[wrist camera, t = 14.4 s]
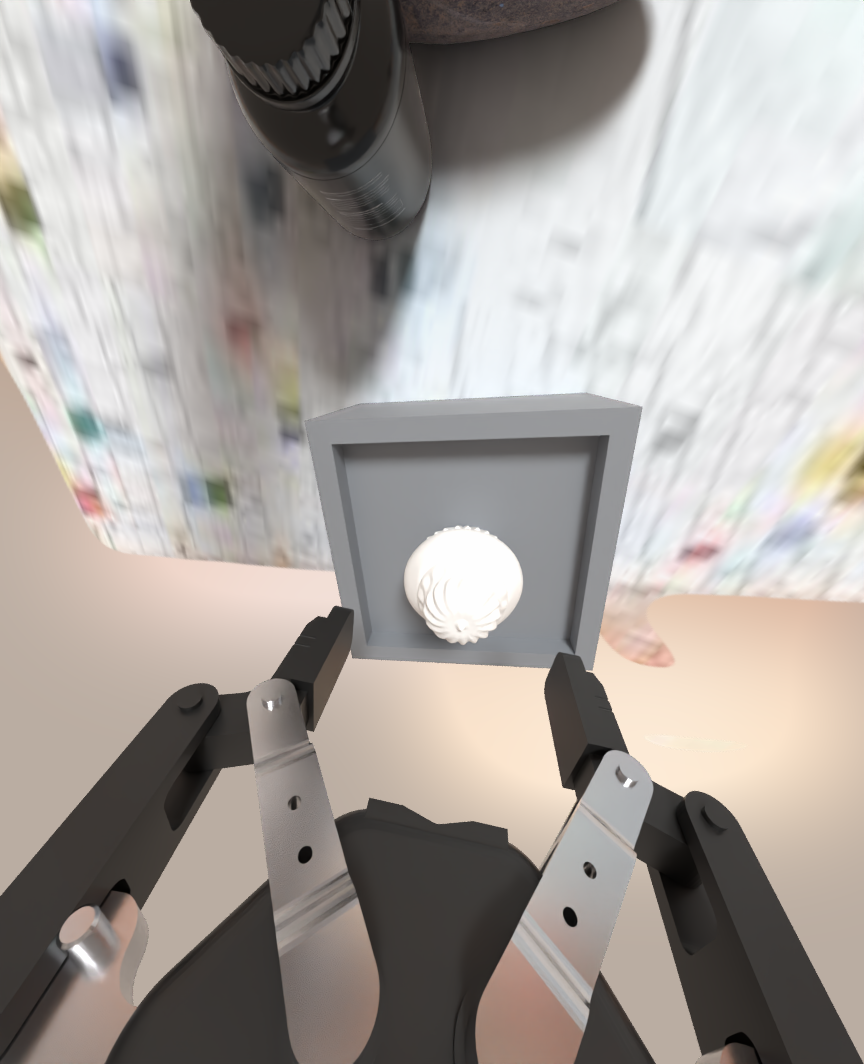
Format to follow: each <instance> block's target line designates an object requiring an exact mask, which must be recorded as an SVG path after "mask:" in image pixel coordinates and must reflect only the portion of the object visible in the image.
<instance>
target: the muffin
mask: <svg viewBox="0 0 864 1064" xmlns="http://www.w3.org/2000/svg"><path fill="white" fill-rule="evenodd" d="M404 587H405V592H406V596H407V598H408V600H409V602H410V604H411V606H412V607H413V608H414V610H415V611H416V612H417V613H418V614H419V615H420V616H421V617H423V618H424V619H425V620H426V624H427V625H428V627H429V628H430V629H431V630H433V631H434V633H435V634H436V635H437V636H438V637H439V638H441V639H446V640H447V641H448V642H450V643H455V642H459V643H460V644H462V645H465V644H466V643H467V642H468V641H470V642H472V643H476V642H477V641H478V639H479V638H487V637H488V631H492V630H494V629H496V627H497V625H498V624H500V623H501V622H502V621H504V620H505V619H506V618H507V617H508V616H509V615H510V613H511V612H512V611H513V610H514V608H515V607H516V605H517V603H518V601H519V599H520V596H521V593H522V589H523V575H522V570H521V567H520V564H519V562H518V560H517V558H516V556H515V555H514V553H513V552H512V551H511V549H510V548H509V547H508V546H507V545H505V544H504V543H503V542H502V541H500V540H499V539H497V536H494V535H491V534H489V532H488V531H485V530H480V529H479V528H478V527H469V526H465V527H462V526H456V527H451V528H444V529H443V530H442V531H437V532H435V534H434V535H433V536H430V537H427V540H425V541H424V542H423V543H422V544H420V545H419V546H418V548H417V549H416V550H415V551H414V552H413V554H412V555H411V557H410V558H409V560H408V562H407V565H406V568H405V572H404Z"/></svg>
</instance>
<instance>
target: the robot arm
mask: <svg viewBox="0 0 864 1064" xmlns="http://www.w3.org/2000/svg"><path fill="white" fill-rule="evenodd" d="M353 624H354V610H353V609H349V608H344V607H339V606H334V607H333V609H332V610H331V612H330V614H329V616H328V617H327V618H325V617H320V616H318V617H316V618H315V619H314V620H312V621H311V622H309V623H308V624H307V625H306V627H305V628H304V630H303V631H302V633H301V634H300V636H299V637H298V639H297V640H296V642H295V644H294V645H293V646H292V648H291V649H290V651H289V652H288V654H287V655H286V657H285V658H284V660H283V661H282V663H281V665H280V666H279V667H278V669H277V671H276V672H275V674H274V675H273V676H272V678H271V679H270V680H267V681H264V682H262V683H260V684H259V685H257V686H256V687H255V688H254V689H253V690H252V691H249V692H246V693H236V694H225V695H218V691H217V689H216V688H215V687H214V686H212V685H210V684H205V683H200V684H199V683H198V684H193V685H189V686H187V687H184V688H182V689H180V690H178V691H177V692H175V693H174V694H173V695H171V697H169V698H168V699H167V701H166V702H165V703H164V704H163V705H162V707H161V708H160V709H159V710H158V711H157V712H156V714H155V715H154V716H153V717H152V718H151V719H150V721H149V722H148V723H147V724H146V725H145V727H144V728H143V729H142V730H141V731H140V733H139V734H138V735H137V736H136V737H135V738H134V740H133V741H132V742H131V743H130V744H129V745H128V747H127V748H126V749H125V750H124V751H123V752H122V754H121V755H120V756H119V757H118V759H117V760H116V761H115V762H114V763H113V764H112V766H111V767H110V768H109V769H108V770H107V771H106V773H105V774H104V775H103V776H102V777H101V778H100V780H99V781H98V782H97V783H96V784H95V785H94V787H93V788H92V789H91V790H90V791H89V793H88V794H87V795H86V796H85V797H84V798H83V800H82V801H81V802H80V803H79V804H78V806H77V807H76V808H75V809H74V810H73V811H72V813H71V814H70V815H69V816H68V817H67V818H66V820H65V821H64V822H63V823H62V824H61V826H60V827H59V828H58V829H57V830H56V831H55V833H54V834H53V835H52V836H51V837H50V838H49V840H48V841H47V842H46V843H45V844H44V846H43V847H42V848H41V849H40V850H39V852H38V853H37V854H36V855H35V856H34V857H33V859H32V860H31V861H30V862H29V863H28V864H27V866H26V867H25V868H24V869H23V870H22V872H21V873H20V874H19V875H18V876H17V878H16V879H15V880H14V881H13V882H12V883H11V885H10V886H9V887H8V888H7V889H6V890H5V892H4V893H3V894H2V895H1V896H0V1064H656V1063H655V1062H654V1060H653V1058H652V1057H651V1055H650V1053H649V1052H648V1050H647V1048H646V1047H645V1045H644V1044H643V1042H642V1040H641V1038H640V1037H639V1035H638V1033H637V1032H636V1030H635V1028H634V1026H633V1025H632V1023H631V1022H630V1020H629V1018H628V1017H627V1015H626V1013H625V1011H624V1010H623V1008H622V1006H621V1005H620V1003H619V1002H618V1000H617V998H616V997H615V995H614V994H613V992H612V990H611V988H610V986H609V985H608V983H607V981H606V980H605V978H604V976H603V975H602V973H601V971H600V968H601V965H602V962H603V959H604V956H605V953H606V950H607V947H608V944H609V941H610V938H611V935H612V932H613V929H614V926H615V923H616V919H617V916H618V913H619V910H620V907H621V904H622V901H623V898H624V895H625V892H626V889H627V886H628V883H629V880H630V877H631V874H632V871H633V868H634V864H635V861H636V858H638V859H639V860H641V861H643V862H645V863H646V864H647V867H648V871H649V874H650V878H651V881H652V885H653V888H654V891H655V895H656V898H657V902H658V905H659V908H660V912H661V915H662V919H663V922H664V925H665V929H666V932H667V936H668V940H669V943H670V947H671V950H672V953H673V957H674V960H675V964H676V967H677V971H678V974H679V978H680V981H681V985H682V988H683V991H684V995H685V998H686V1002H687V1005H688V1009H689V1012H690V1015H691V1019H692V1022H693V1026H694V1029H695V1033H696V1036H697V1040H698V1043H699V1046H700V1050H701V1053H702V1056H701V1057H700V1058H699V1059H698V1060H697V1061H696V1064H863V1062H862V1060H861V1058H860V1056H859V1054H858V1052H857V1050H856V1048H855V1046H854V1044H853V1042H852V1041H851V1039H850V1037H849V1035H848V1033H847V1031H846V1029H845V1027H844V1025H843V1023H842V1021H841V1019H840V1017H839V1015H838V1014H837V1012H836V1010H835V1008H834V1006H833V1004H832V1002H831V1000H830V998H829V996H828V994H827V992H826V990H825V988H824V987H823V985H822V983H821V981H820V979H819V977H818V975H817V973H816V971H815V969H814V967H813V965H812V963H811V962H810V960H809V958H808V956H807V954H806V952H805V950H804V948H803V946H802V944H801V942H800V940H799V938H798V936H797V934H796V933H795V931H794V929H793V927H792V925H791V923H790V921H789V919H788V917H787V915H786V913H785V912H784V909H783V907H782V906H781V904H780V902H779V900H778V898H777V896H776V894H775V892H774V890H773V888H772V886H771V884H770V882H769V881H768V879H767V877H766V875H765V873H764V871H763V869H762V867H761V866H760V863H759V861H758V859H757V857H756V856H755V853H754V852H753V850H752V848H751V846H750V844H749V842H748V840H747V838H746V836H745V834H744V832H743V831H742V829H741V827H740V825H739V823H738V821H737V820H736V819H735V817H734V816H733V815H732V814H731V812H730V811H729V810H728V809H727V808H726V807H725V806H724V805H722V804H721V803H720V802H719V801H718V800H716V799H715V798H713V797H712V796H710V795H707V794H705V793H702V792H699V791H692V792H689V793H688V794H687V795H686V796H685V797H684V798H683V797H682V796H679V795H678V794H676V793H674V792H672V791H670V790H668V789H666V788H664V787H662V786H660V785H658V784H657V783H655V782H653V781H652V780H651V778H650V776H649V774H648V773H647V771H646V769H645V768H644V767H643V766H642V765H641V764H640V763H639V762H638V761H637V760H636V759H635V758H633V757H632V756H630V755H629V752H628V750H627V747H626V745H625V742H624V739H623V737H622V734H621V732H620V729H619V726H618V724H617V721H616V719H615V716H614V713H613V712H612V708H611V706H610V703H609V701H608V698H607V695H606V693H605V690H604V687H603V685H602V684H601V683H600V681H599V680H598V679H597V678H596V676H595V675H594V674H593V673H590V672H586V670H585V667H584V664H583V661H582V659H581V657H580V656H577V655H572V654H567V653H562V652H558V653H557V655H556V657H555V659H554V662H553V664H552V667H551V669H550V671H549V674H548V676H547V678H546V682H545V688H544V690H545V691H544V694H545V700H546V705H547V710H548V715H549V720H550V725H551V730H552V736H553V741H554V746H555V751H556V756H557V761H558V766H559V771H560V776H561V781H562V786H563V788H567V789H572V790H575V792H576V797H577V801H576V802H575V804H574V805H573V807H572V809H571V811H570V813H569V815H568V817H567V819H566V821H565V822H564V824H563V826H562V828H561V830H560V832H559V833H558V835H557V837H556V839H555V841H554V843H553V845H552V847H551V848H550V850H549V852H548V854H547V856H546V857H545V859H544V861H543V863H542V864H541V866H540V868H539V869H538V868H537V867H536V866H535V865H534V864H533V862H532V861H531V860H530V859H529V858H528V857H527V856H526V855H525V854H524V853H522V852H521V851H520V850H519V849H518V848H516V847H515V846H514V845H512V844H510V843H509V842H508V832H507V829H504V828H501V827H496V826H492V825H487V824H483V823H479V822H474V821H471V822H459V823H449V824H435V823H433V822H431V821H430V820H428V819H426V818H424V817H422V816H421V815H419V814H417V813H415V812H414V811H412V810H410V809H408V808H406V807H405V806H403V805H399V804H394V803H390V802H386V801H381V800H377V799H372V798H369V801H368V806H367V809H363V810H357V811H353V812H349V813H347V814H344V815H342V816H340V817H338V818H337V819H335V820H334V818H333V814H332V811H331V807H330V803H329V799H328V796H327V792H326V788H325V785H324V781H323V777H322V774H321V770H320V767H319V763H318V759H317V756H316V752H315V749H314V746H313V744H312V743H310V741H309V739H308V735H307V731H306V730H309V731H313V732H314V730H315V728H316V725H317V723H318V721H319V719H320V717H321V714H322V712H323V710H324V707H325V705H326V703H327V701H328V699H329V697H330V694H331V692H332V690H333V688H334V685H335V683H336V681H337V679H338V676H339V674H340V672H341V670H342V668H343V665H344V663H345V661H346V659H347V656H348V654H349V651H350V648H351V644H352V639H353ZM249 764H254V766H255V773H256V782H257V790H258V797H259V806H260V813H261V821H262V829H263V837H264V845H265V852H266V860H267V868H268V875H269V879H268V880H267V881H266V882H264V883H263V884H262V885H261V886H260V887H259V888H258V889H257V890H256V891H255V892H254V893H253V894H252V895H251V896H249V897H248V899H246V900H245V901H244V902H243V903H242V904H241V905H240V906H239V907H238V908H237V909H236V910H234V911H233V912H232V913H231V914H230V915H229V916H228V917H227V918H226V919H225V920H224V921H223V922H222V923H221V924H219V925H218V926H217V927H216V928H215V929H214V930H213V931H212V932H211V933H210V934H209V935H208V936H207V937H205V938H204V939H203V940H202V941H201V942H200V943H199V944H198V945H197V946H196V947H195V948H194V949H193V950H192V951H190V952H189V953H188V954H187V955H186V956H185V957H184V958H183V959H182V960H181V961H180V962H179V963H178V964H176V965H175V966H174V968H172V969H171V970H170V971H169V972H168V973H167V974H166V975H165V976H164V977H163V978H162V979H161V980H160V981H159V982H158V983H157V984H156V985H155V986H154V988H153V989H152V990H151V991H150V992H149V993H148V994H147V996H146V997H145V998H144V1000H143V1001H142V1002H141V1003H140V1005H139V1006H138V1007H136V1006H134V1005H133V997H132V996H133V985H134V979H135V976H136V973H137V969H138V967H139V965H140V963H141V960H142V957H143V955H144V953H145V950H146V946H147V942H148V931H149V930H148V925H147V922H146V920H145V918H144V916H143V914H142V913H141V909H142V907H143V906H144V904H145V902H146V900H147V899H148V897H149V895H150V893H151V892H152V890H153V888H154V886H155V884H156V883H157V881H158V879H159V878H160V876H161V874H162V872H163V871H164V869H165V867H166V865H167V864H168V862H169V860H170V858H171V857H172V855H173V853H174V851H175V849H176V848H177V846H178V844H179V843H180V841H181V839H182V837H183V836H184V834H185V832H186V830H187V828H188V827H189V825H190V823H191V822H192V820H193V818H194V816H195V814H196V813H197V811H198V809H199V808H200V806H201V804H202V802H203V801H204V799H205V797H206V795H207V794H208V792H209V790H210V788H211V787H212V785H213V783H214V781H215V780H216V778H217V776H218V774H219V773H220V771H221V769H222V768H228V767H235V766H242V765H249Z"/></svg>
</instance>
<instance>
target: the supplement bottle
mask: <svg viewBox="0 0 864 1064" xmlns="http://www.w3.org/2000/svg"><path fill="white" fill-rule="evenodd" d="M190 2H191V6H192V9H193V10H194V12H195V14H196V15H197V17H198V18H199V19H200V20H201V22H202V25H203V27H204V29H205V31H206V33H207V34H208V36H209V37H210V38H211V39H212V41H213V42H214V43H215V44H216V46H217V47H218V48H219V49H220V51H221V52H222V54H223V56H224V57H225V62H226V66H227V71H228V75H229V78H230V81H231V85H232V88H233V91H234V93H235V96H236V99H237V101H238V104H239V106H240V108H241V110H242V112H243V114H244V116H245V118H246V120H247V122H248V124H249V126H250V127H251V129H252V130H253V132H254V133H255V135H256V136H257V137H258V139H259V140H260V141H261V143H262V144H263V145H264V146H265V148H266V149H267V150H268V151H269V152H270V153H271V155H272V156H273V157H274V158H275V159H276V160H277V161H278V162H279V163H280V164H281V165H282V166H283V167H284V168H285V169H286V170H287V171H288V172H289V173H290V174H291V175H292V176H293V177H294V178H295V179H296V180H297V181H298V183H299V184H300V185H301V186H302V187H303V188H304V189H305V190H306V191H307V192H308V193H309V194H310V195H311V196H312V197H313V198H314V199H315V200H316V201H317V202H318V203H319V204H320V205H321V206H322V207H323V208H324V209H325V210H326V211H327V212H328V213H329V214H330V215H331V216H332V217H333V218H334V219H335V220H336V221H337V222H338V223H339V224H340V225H341V226H342V227H343V228H345V229H346V230H347V231H349V232H350V233H352V234H354V235H356V236H358V237H360V238H364V239H368V240H382V239H387V238H390V237H392V236H394V235H396V234H398V233H400V232H401V231H402V230H404V229H405V228H406V227H407V226H408V225H409V224H410V223H411V222H412V221H413V220H414V218H415V217H416V215H417V214H418V212H419V211H420V209H421V207H422V205H423V203H424V200H425V198H426V195H427V192H428V188H429V184H430V179H431V172H432V150H431V141H430V135H429V130H428V125H427V120H426V116H425V111H424V107H423V103H422V98H421V94H420V89H419V85H418V80H417V76H416V71H415V67H414V63H413V58H412V54H411V49H410V45H409V40H408V36H407V32H406V27H405V23H404V18H403V14H402V10H401V6H400V1H399V0H190Z"/></svg>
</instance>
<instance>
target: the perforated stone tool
mask: <svg viewBox="0 0 864 1064" xmlns="http://www.w3.org/2000/svg"><path fill="white" fill-rule="evenodd" d="M399 1H400V6H401V10H402V14H403V18H404V23H405V27H406V32H407V36H408V40H409V42H412V43H424V44H453V43H463V42H472V41H479V40H487V39H493V38H498V37H504V36H508V35H511V34H514V33H522V32H526V31H530V30H535V29H539V28H542V27H546V26H550V25H554V24H557V23H561V22H564V21H567V20H570V19H574V18H577V17H580V16H583V15H586V14H589V13H591V12H594V11H596V10H599V9H601V8H603V7H606V6H609V5H611V4H613V3H615V2H617V1H618V0H399Z"/></svg>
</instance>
